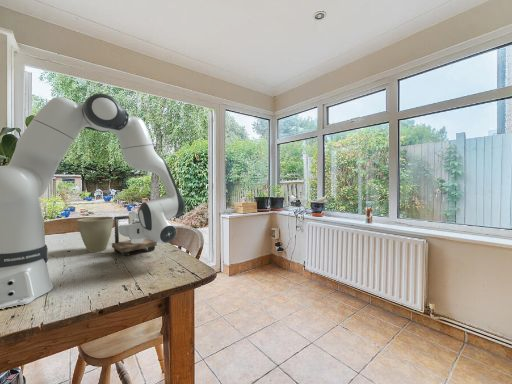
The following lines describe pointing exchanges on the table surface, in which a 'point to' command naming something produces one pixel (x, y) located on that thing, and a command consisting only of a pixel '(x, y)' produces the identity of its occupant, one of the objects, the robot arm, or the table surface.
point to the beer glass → (132, 219)
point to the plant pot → (95, 232)
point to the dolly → (125, 245)
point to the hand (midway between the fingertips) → (138, 224)
